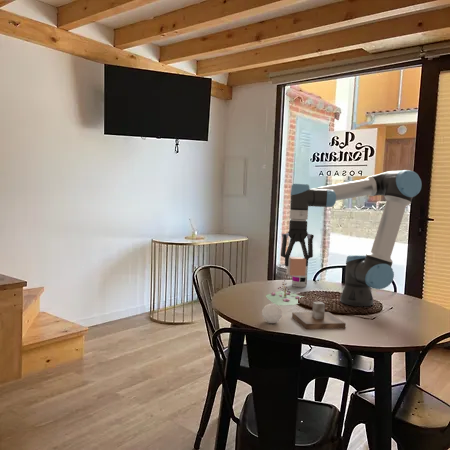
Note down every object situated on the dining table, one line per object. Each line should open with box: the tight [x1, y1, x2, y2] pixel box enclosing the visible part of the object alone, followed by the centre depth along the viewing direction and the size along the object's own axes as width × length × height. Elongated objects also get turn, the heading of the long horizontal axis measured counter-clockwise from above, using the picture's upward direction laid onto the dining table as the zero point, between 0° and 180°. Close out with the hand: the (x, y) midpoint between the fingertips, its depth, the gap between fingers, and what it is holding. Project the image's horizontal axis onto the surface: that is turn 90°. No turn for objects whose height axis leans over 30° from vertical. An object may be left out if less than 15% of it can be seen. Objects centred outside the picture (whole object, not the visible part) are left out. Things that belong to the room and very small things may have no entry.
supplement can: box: [291, 265, 309, 288], centre depth 247 cm, size 8×8×15 cm
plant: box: [265, 280, 304, 306], centre depth 215 cm, size 25×21×9 cm
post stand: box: [291, 301, 347, 330], centre depth 178 cm, size 16×16×8 cm
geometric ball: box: [261, 303, 283, 324], centre depth 175 cm, size 8×8×8 cm
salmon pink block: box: [288, 256, 306, 277], centre depth 190 cm, size 6×6×7 cm
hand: (295, 273), depth 191 cm, fingers closed on salmon pink block, 6 cm apart
